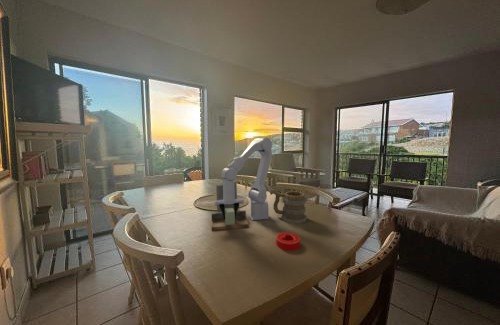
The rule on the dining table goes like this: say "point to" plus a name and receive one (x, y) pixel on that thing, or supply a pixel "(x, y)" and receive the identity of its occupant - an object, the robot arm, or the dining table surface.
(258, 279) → the dining table surface
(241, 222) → the cleat wall
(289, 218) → the tankard
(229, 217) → the mini cabinet
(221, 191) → the hip flask
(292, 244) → the decorative ornament
